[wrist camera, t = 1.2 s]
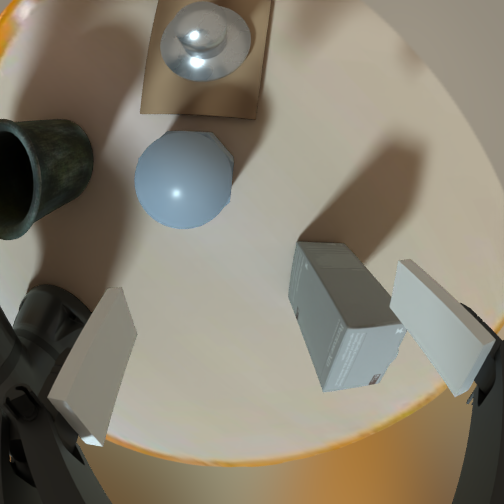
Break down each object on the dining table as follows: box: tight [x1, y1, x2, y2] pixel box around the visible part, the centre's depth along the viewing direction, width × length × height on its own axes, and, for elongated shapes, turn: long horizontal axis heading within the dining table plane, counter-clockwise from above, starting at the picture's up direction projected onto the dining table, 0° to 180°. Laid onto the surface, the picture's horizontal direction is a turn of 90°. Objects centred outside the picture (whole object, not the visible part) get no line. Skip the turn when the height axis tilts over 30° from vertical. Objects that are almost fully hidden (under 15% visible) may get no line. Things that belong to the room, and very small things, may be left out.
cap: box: [135, 131, 234, 229], centre depth 26 cm, size 8×8×7 cm
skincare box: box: [288, 242, 407, 392], centre depth 28 cm, size 8×7×16 cm
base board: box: [140, 0, 271, 120], centre depth 23 cm, size 12×16×1 cm
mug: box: [0, 119, 93, 240], centre depth 21 cm, size 11×15×12 cm
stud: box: [160, 1, 251, 82], centre depth 20 cm, size 9×9×6 cm
